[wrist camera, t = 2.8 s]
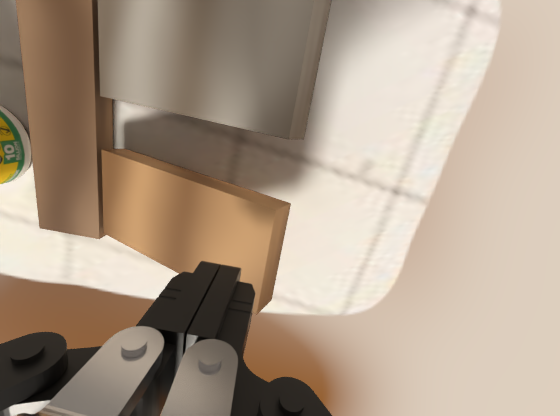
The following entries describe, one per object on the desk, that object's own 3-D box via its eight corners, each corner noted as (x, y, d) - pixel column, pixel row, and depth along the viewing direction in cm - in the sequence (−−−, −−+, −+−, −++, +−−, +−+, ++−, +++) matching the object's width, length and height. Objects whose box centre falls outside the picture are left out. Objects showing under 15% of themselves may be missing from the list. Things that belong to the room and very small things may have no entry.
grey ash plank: (125, 99, 17) (100, 96, 16) (125, -7, 15) (97, -21, 14) (303, 139, 12) (288, 139, 11) (333, -8, 11) (319, -29, 9)
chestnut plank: (125, 227, 20) (103, 233, 19) (125, 148, 18) (101, 149, 17) (271, 299, 15) (256, 315, 14) (290, 203, 13) (275, 210, 12)
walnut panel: (58, 219, 20) (39, 227, 19) (38, -33, 15) (10, -49, 14) (114, 229, 20) (99, 239, 19) (111, -20, 15) (90, -34, 14)
